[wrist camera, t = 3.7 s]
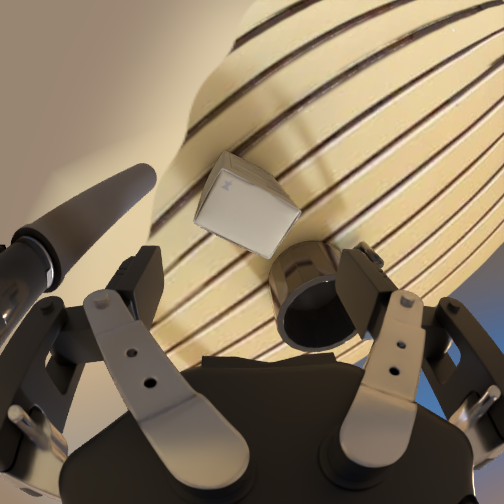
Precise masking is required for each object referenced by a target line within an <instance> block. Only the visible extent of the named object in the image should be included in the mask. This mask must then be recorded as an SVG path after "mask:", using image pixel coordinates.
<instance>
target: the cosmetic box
mask: <svg viewBox="0 0 504 504" xmlns="http://www.w3.org/2000/svg"><path fill="white" fill-rule="evenodd" d="M300 215H301V211H300V209H299V208H298V207H297V205H296V204H295V203H294V202H293V200H292V199H291V198H290V197H289V195H288V194H287V193H286V192H285V191H284V189H283V188H282V187H281V186H280V184H279V183H278V182H277V181H276V180H275V178H274V177H273V176H272V175H270V174H269V173H267V172H265V171H264V170H262V169H260V168H258V167H257V166H255V165H253V164H251V163H249V162H248V161H246V160H244V159H242V158H240V157H238V156H236V155H234V154H232V153H230V152H228V151H225V150H224V151H223V152H222V154H221V155H220V157H219V159H218V160H217V162H216V164H215V166H214V167H213V169H212V171H211V173H210V175H209V177H208V179H207V181H206V183H205V186H204V189H203V192H202V195H201V198H200V201H199V204H198V207H197V211H196V214H195V217H194V221H193V222H194V224H196V225H198V226H200V227H201V228H203V229H205V230H207V231H208V232H211V233H212V234H214V235H216V236H218V237H220V238H223V239H225V240H227V241H229V242H231V243H233V244H235V245H237V246H239V247H242V248H244V249H246V250H248V251H250V252H253V253H255V254H257V255H260V256H262V257H264V258H267V259H270V258H271V256H272V255H273V253H274V252H275V251H276V249H277V248H278V247H279V245H280V244H281V243H282V241H283V240H284V238H285V237H286V235H287V234H288V233H289V231H290V230H291V228H292V227H293V225H294V224H295V222H296V221H297V219H298V218H299V216H300Z"/></svg>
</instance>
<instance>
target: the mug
mask: <svg viewBox="0 0 504 504" xmlns="http://www.w3.org/2000/svg"><path fill="white" fill-rule="evenodd" d="M353 249H359V250H361V252H363V254H364V255H365V256H366V257H367V258H368V259H369V260H370V261H372V262H374V263H375V264H377V265H378V266H379V267H380V268H382V267H383V266H384V261H383V260H382V259H381V258H380V257H379V256H378V255H377V254H376V252H375V251H374V250H373V249H372V248H371V247H370V246H369V245H368V244H367V243H366V242H364V241H362V242H360V243H359V244H358V245H356V246H355V247H354V248H353ZM340 257H341V252H340V251H339V250H338V249H337V248H335V247H334V246H332V245H331V244H328V243H326V242H321V241H306V242H302V243H298V244H296V245H293V246H292V247H290V248H288V249H287V250H285V251H284V252H283V253H282V254H281V255H280V256H279V257H278V258H277V259H276V260H275V262H274V264H273V265H272V267H271V270H270V273H269V278H268V284H269V290H270V296H271V301H272V306H273V311H274V316H275V320H276V325H277V330H278V332H279V334H280V336H281V338H282V340H283V341H284V342H285V343H287V344H288V345H289V346H291V347H292V348H294V349H297V350H300V351H303V352H320V351H326V350H330V349H333V348H335V347H338V346H340V345H342V344H344V343H346V342H347V341H348V340H350V339H351V338H353V337H354V336H355V335H356V334H357V333H358V332H357V330H356V328H355V326H354V324H353V322H352V320H351V318H350V316H349V315H348V313H347V311H346V309H345V307H344V305H343V303H342V302H341V300H340V298H339V296H338V294H337V292H336V287H335V282H336V276H337V271H338V267H339V262H340Z"/></svg>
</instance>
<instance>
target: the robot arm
mask: <svg viewBox="0 0 504 504" xmlns="http://www.w3.org/2000/svg"><path fill="white" fill-rule="evenodd" d="M54 278H55V265H54V261H53V258H52V256H51V254H50V252H49V250H48V249H47V247H46V246H45V245H44V244H43V243H42V242H41V241H40V240H39V239H37V238H36V237H34V236H31V235H23V236H21V237H20V238H19V239H17V240H16V241H15V242H14V243H13V244H12V245H10V246H9V247H8V248H6V246H5V245H3V244H0V347H1V346H2V345H3V343H4V342H5V340H6V339H7V337H8V336H9V335H10V333H11V332H12V331H13V329H14V328H15V327H16V325H17V324H18V323H19V321H20V320H21V319H22V317H23V316H24V315H25V313H26V312H27V311H28V310H29V308H30V307H31V306H32V305H33V304H34V302H35V301H36V300H37V299H38V297H39V296H40V295H41V294H42V293H43V292H44V291H45V289H46V288H49V286H50V285H51V283H52V282H53V280H54ZM335 287H336V292H337V294H338V296H339V298H340V300H341V302H342V303H343V305H344V307H345V309H346V311H347V313H348V315H349V316H350V318H351V320H352V322H353V324H354V326H355V328H356V330H357V332H358V334H359V336H360V338H361V340H370V339H373V340H374V342H373V345H372V347H371V349H370V352H369V354H368V357H367V360H366V362H365V364H364V367H363V369H361V368H360V367H357V366H354V365H352V364H348V363H344V362H337V361H336V358H335V356H334V353H333V352H331V353H320V354H306V355H300V356H296V357H293V358H289V359H285V360H281V361H277V362H262V361H256V360H251V359H245V358H240V357H216V356H202V365H201V366H197V367H193V368H189V369H186V370H184V371H181V372H179V371H178V370H177V368H176V367H175V366H174V365H173V363H172V362H171V361H170V359H169V358H168V357H167V355H166V354H165V353H164V351H163V350H162V349H161V347H160V346H159V345H158V343H157V342H156V340H155V339H154V338H153V336H152V335H151V333H150V332H149V331H150V328H151V325H152V322H153V319H154V316H155V313H156V310H157V307H158V304H159V302H160V299H161V296H162V293H163V289H164V274H163V266H162V257H161V249H160V247H159V246H142V247H141V249H140V250H139V251H138V253H137V254H136V256H131V257H130V258H128V259H126V260H125V261H123V262H122V264H121V265H120V267H119V270H117V271H116V273H115V275H114V276H113V277H112V279H111V280H110V282H109V283H108V285H107V286H106V288H105V289H102V290H98V291H95V292H93V293H91V294H89V295H88V296H87V297H86V298H85V299H84V301H83V305H82V306H75V307H68V308H65V305H64V302H63V300H62V299H61V298H60V297H57V296H49V297H45V298H43V299H41V300H39V301H38V302H37V303H36V304H34V306H33V307H32V308H31V310H30V311H29V313H28V314H27V315H26V317H25V318H24V319H23V321H22V322H21V324H20V325H19V327H18V328H17V330H16V331H15V333H14V334H13V336H12V338H11V339H10V340H9V342H8V344H7V345H6V347H5V349H4V350H3V352H2V353H1V355H0V477H1V478H2V479H4V480H5V481H7V482H8V483H10V484H11V485H13V486H15V487H17V488H19V489H21V490H23V491H24V492H26V493H28V494H29V495H32V496H37V497H38V496H43V495H44V496H47V497H49V498H52V499H54V500H57V501H59V502H62V504H479V503H478V501H477V499H476V496H475V491H474V481H473V470H480V469H482V468H483V467H485V466H486V465H487V464H488V463H490V462H491V461H493V460H494V459H495V458H496V457H497V456H499V455H500V454H501V453H503V452H504V354H503V353H502V352H501V350H500V349H499V348H498V346H497V345H496V344H495V342H494V341H493V340H492V339H491V337H490V336H489V335H488V333H487V332H486V331H485V330H484V328H483V327H482V326H481V325H480V324H479V322H478V321H477V320H476V319H475V318H474V316H473V315H472V314H471V313H470V312H469V310H468V309H467V308H466V307H465V306H464V305H463V304H462V303H461V302H459V301H458V300H456V299H453V298H450V297H443V298H441V299H440V301H439V303H438V306H437V308H436V307H429V306H423V301H422V300H421V298H420V297H419V296H417V295H416V294H414V293H412V292H409V291H406V290H399V289H398V288H397V287H396V286H395V284H394V283H393V282H392V281H391V280H390V279H389V278H387V275H386V274H385V273H383V270H382V269H381V268H380V267H379V266H378V265H377V264H375V263H374V262H372V261H370V260H369V259H368V258H367V257H366V256H365V255H364V254H363V253H362V252H361V250H359V249H344V250H343V251H342V253H341V257H340V262H339V267H338V271H337V276H336V282H335ZM453 341H454V343H455V344H456V346H457V347H458V349H459V350H460V353H461V359H460V362H459V364H458V365H457V367H456V366H455V364H454V362H453V361H452V359H451V357H450V356H449V354H448V353H447V351H448V349H449V347H450V345H451V344H452V342H453ZM49 351H50V353H51V355H52V356H51V358H50V360H49V362H48V364H47V366H46V368H45V360H46V357H47V355H48V353H49ZM97 361H104V362H105V364H106V367H107V369H108V371H109V373H110V375H111V377H112V379H113V381H114V383H115V385H116V388H117V389H118V391H119V393H120V395H121V397H122V399H123V401H124V403H125V405H126V407H127V409H128V411H127V412H126V413H124V414H123V415H122V416H120V417H119V418H118V419H117V420H115V421H114V422H113V423H111V424H110V425H109V426H108V427H106V428H105V429H103V430H102V431H101V432H99V433H98V434H97V435H95V436H94V437H93V438H91V439H90V440H89V441H87V442H86V443H85V444H83V445H82V446H81V447H79V448H78V449H76V450H75V451H74V452H73V453H71V454H70V456H68V445H67V442H66V439H65V438H64V436H63V435H62V433H63V429H64V426H65V422H66V419H67V416H68V412H69V409H70V406H71V403H72V400H73V397H74V394H75V391H76V388H77V385H78V382H79V380H80V377H81V374H82V371H83V369H84V366H85V363H88V362H97ZM421 368H422V370H423V372H424V374H425V376H426V378H427V380H428V382H429V384H430V385H431V387H432V389H433V391H434V393H435V396H436V398H437V400H438V402H439V404H440V406H441V408H442V410H443V412H444V414H445V416H446V418H447V420H445V419H443V418H441V417H440V416H438V415H436V414H435V413H433V412H431V411H430V410H428V409H426V408H425V407H423V406H421V405H420V404H418V403H417V402H415V398H416V393H417V388H418V383H419V376H420V372H421Z"/></svg>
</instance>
